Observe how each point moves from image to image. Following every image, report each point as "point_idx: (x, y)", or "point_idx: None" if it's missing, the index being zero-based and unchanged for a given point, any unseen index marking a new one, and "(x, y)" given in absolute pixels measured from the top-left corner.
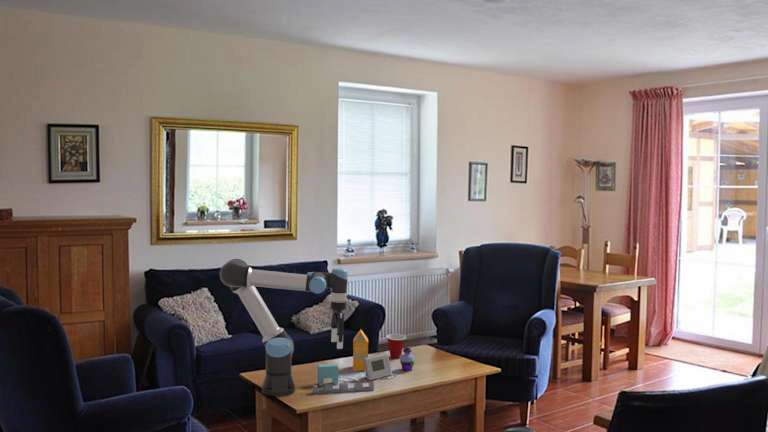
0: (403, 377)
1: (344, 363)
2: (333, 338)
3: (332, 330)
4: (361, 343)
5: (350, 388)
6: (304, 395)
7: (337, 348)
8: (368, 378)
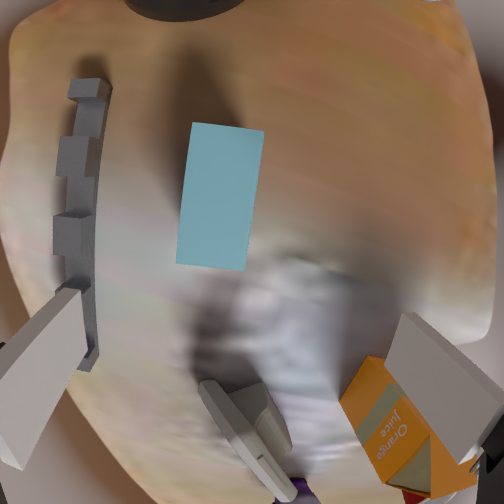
0: (214, 469)
1: (453, 340)
2: (414, 352)
3: (480, 397)
4: (401, 461)
5: (81, 266)
6: (89, 51)
7: (62, 293)
8: (202, 383)
